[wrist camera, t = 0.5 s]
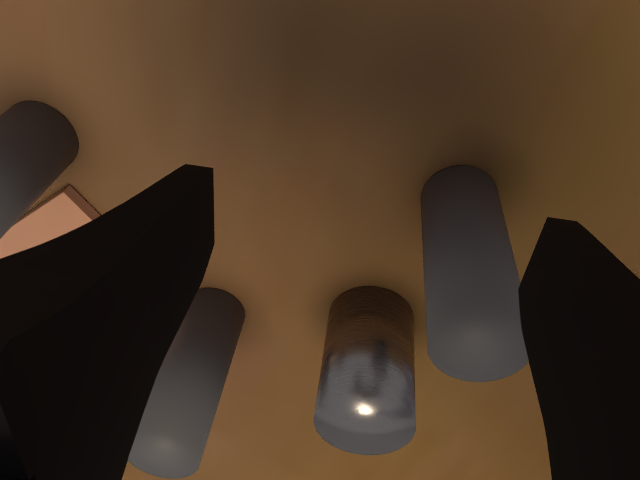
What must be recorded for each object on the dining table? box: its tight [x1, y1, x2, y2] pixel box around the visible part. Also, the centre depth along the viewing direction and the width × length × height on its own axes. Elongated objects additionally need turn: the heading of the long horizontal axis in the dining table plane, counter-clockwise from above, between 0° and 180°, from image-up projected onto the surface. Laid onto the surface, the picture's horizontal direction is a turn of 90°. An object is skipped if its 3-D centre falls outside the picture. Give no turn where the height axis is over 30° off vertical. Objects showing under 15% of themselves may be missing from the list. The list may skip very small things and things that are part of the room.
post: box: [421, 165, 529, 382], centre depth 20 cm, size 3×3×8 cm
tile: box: [0, 185, 101, 259], centre depth 28 cm, size 7×7×1 cm
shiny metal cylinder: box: [314, 286, 416, 455], centre depth 25 cm, size 4×4×6 cm
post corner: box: [128, 288, 245, 479], centre depth 25 cm, size 3×3×8 cm
